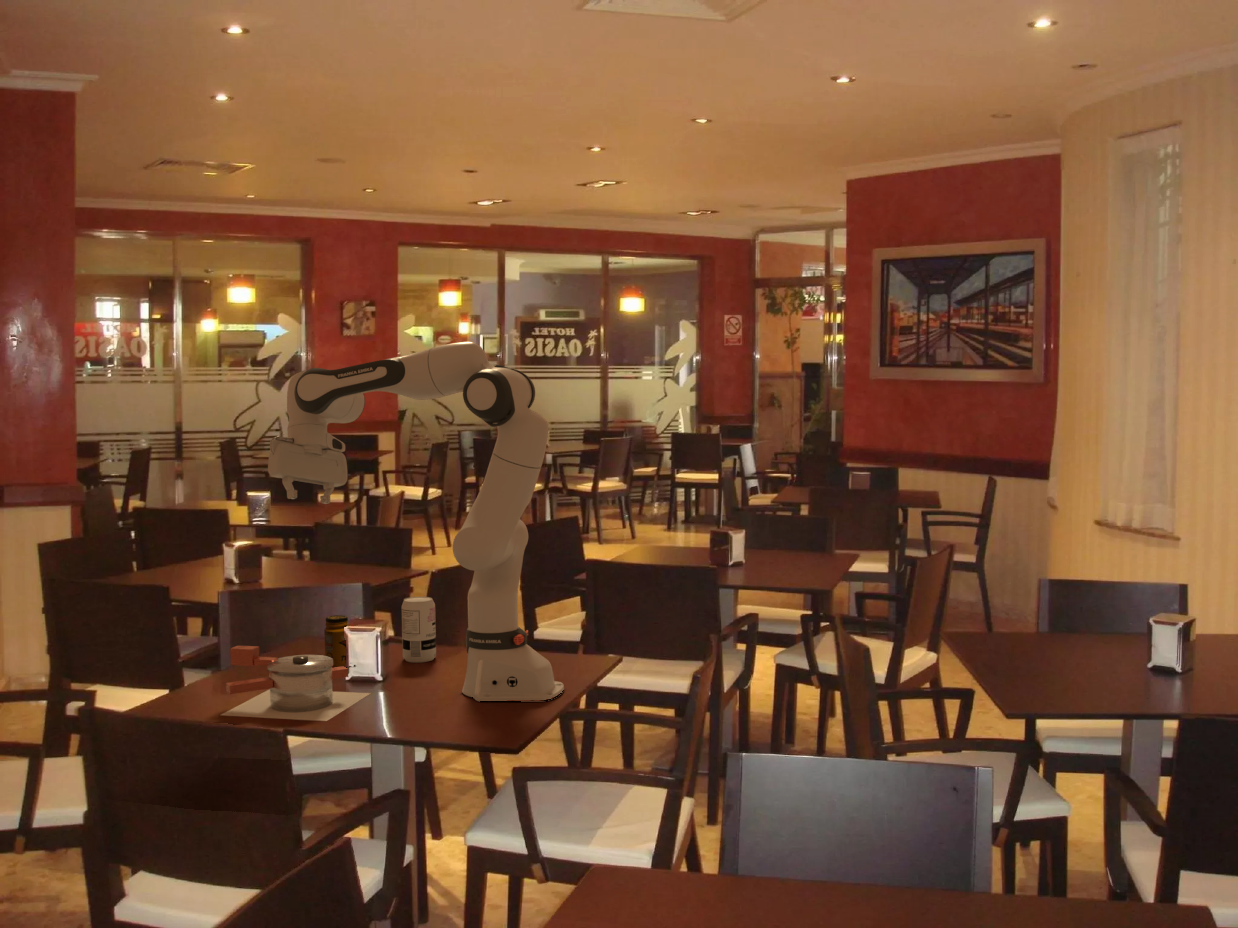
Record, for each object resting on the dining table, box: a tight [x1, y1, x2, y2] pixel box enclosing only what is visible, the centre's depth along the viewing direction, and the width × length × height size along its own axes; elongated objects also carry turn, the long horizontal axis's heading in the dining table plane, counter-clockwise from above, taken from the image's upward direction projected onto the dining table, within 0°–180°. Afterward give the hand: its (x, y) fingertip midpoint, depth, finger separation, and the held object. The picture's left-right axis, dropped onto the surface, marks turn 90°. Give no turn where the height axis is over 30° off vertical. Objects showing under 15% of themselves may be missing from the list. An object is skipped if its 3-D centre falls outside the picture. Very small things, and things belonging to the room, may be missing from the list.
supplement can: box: [401, 596, 437, 664], centre depth 315 cm, size 8×8×15 cm
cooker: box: [225, 666, 349, 712], centre depth 272 cm, size 20×20×8 cm
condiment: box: [324, 614, 349, 667], centre depth 309 cm, size 7×8×12 cm
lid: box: [229, 645, 333, 675], centre depth 274 cm, size 22×14×4 cm, turn 77°
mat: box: [220, 688, 372, 722], centre depth 274 cm, size 24×22×1 cm
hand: (309, 500), depth 288 cm, fingers open, 8 cm apart
